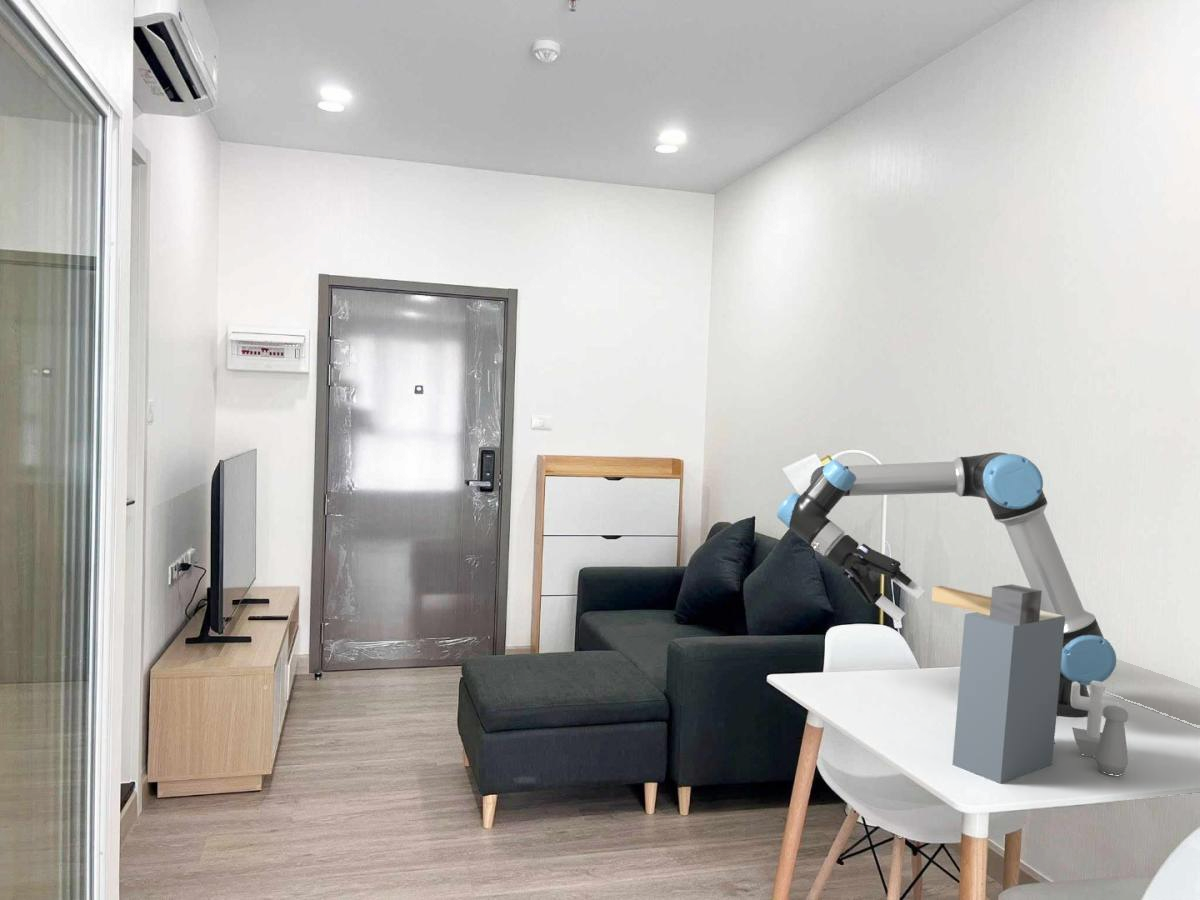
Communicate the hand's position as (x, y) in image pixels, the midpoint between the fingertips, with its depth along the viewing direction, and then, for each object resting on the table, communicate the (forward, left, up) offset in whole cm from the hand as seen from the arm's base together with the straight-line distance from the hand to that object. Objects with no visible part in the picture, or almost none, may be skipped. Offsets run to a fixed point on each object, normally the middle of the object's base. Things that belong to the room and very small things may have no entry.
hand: (911, 607), depth 205 cm
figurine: (-18, +33, -25) cm, 45 cm away
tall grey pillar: (+6, +27, -25) cm, 37 cm away
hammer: (+10, +22, +5) cm, 25 cm away
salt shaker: (-11, +40, -25) cm, 49 cm away
